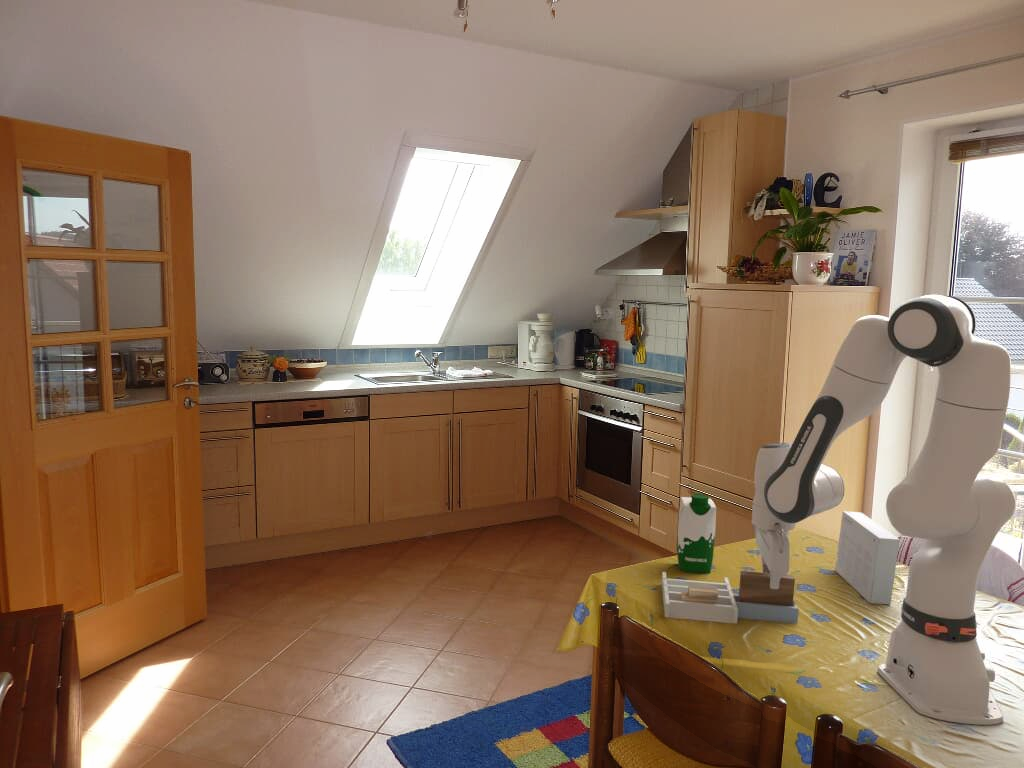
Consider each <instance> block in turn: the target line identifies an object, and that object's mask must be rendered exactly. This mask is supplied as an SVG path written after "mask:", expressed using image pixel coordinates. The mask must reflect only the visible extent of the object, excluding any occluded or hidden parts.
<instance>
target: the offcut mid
mask: <svg viewBox="0 0 1024 768" xmlns="http://www.w3.org/2000/svg"><path fill="white" fill-rule="evenodd" d="M681 601H686V602H697V603H708V604H715V600H704V599H693V598H689V595H688V593H687V592H681Z"/></svg>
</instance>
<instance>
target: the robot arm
mask: <svg viewBox="0 0 1024 768" xmlns="http://www.w3.org/2000/svg"><path fill="white" fill-rule="evenodd" d="M976 319H977V318H976V315H975V312H974V311H973V309H972V308H971V306H969V304H967V302H965V301H964V300H962V299H960V298H958V297H956V296H952V295H941V294H929V295H927V294H926V295H923V296H919V297H914V298H911V299H908V300H906V301H904V302H903V303H901V304H900V305H899V306H897V307H896V308H895V310H893V312H892V314H891V316H890V317H886V316H883V315H875V314H873V315H871V314H869V315H865V316H862V317H860V318H858V319H857V320H856V321H855V322H854V323H853V325H852V326H851V328H850V329H849V331H848V333H847V334H846V335H845V337H844V339H843V341H842V343H841V345H840V346H839V349H838V351H837V353H836V354H835V357H834V360H833V361H832V362H833V363H832V364H831V368H830V370H829V373H828V375H827V376H826V379H825V381H824V384H823V385H822V388H821V390H820V392H819V394H818V396H817V398H816V399H815V401H814V403H813V404H812V406H811V408H810V410H809V411H808V412H807V414H806V416H805V418H804V420H803V422H802V424H801V426H800V428H799V430H798V432H797V434H796V436H795V438H794V440H793V442H792V443H791V442H778V443H777V442H776V443H771V444H766V445H763V446H762V447H761V448H759V450H758V453H757V456H756V460H755V467H754V477H753V478H754V479H753V481H754V482H753V484H754V489H755V493H754V496H753V499H752V514H751V524H752V525H753V526H754V537H755V538H754V539H755V544H756V546H757V548H758V550H759V552H760V557H761V558H760V559H761V571H762V573H771V574H770V578H769V586H770V588H771V589H779V581H780V579H781V576H782V574H784V575H789V572H790V558H791V557H790V552H791V551H790V550H791V549H790V547H791V546H790V545H791V544H790V538H789V537H788V535H789V531H793V530H794V529H795V528H796V524H797V523H799V522H801V521H804V520H806V519H807V518H809V517H812V516H816V515H818V514H822V513H824V512H826V511H829V510H831V509H834V508H835V507H838V506H839V505H840V504H841V502H842V500H843V498H844V496H845V484H844V480H843V478H842V476H841V475H840V474H839V472H838V471H837V470H836V469H835V468H833V467H832V466H829V465H827V464H823V462H824V460H825V458H826V456H827V454H828V452H829V450H830V448H831V447H832V445H833V443H834V442H835V440H837V438H838V437H839V436H840V435H841V434H843V433H844V432H845V431H846V430H847V429H849V428H851V427H853V426H854V425H856V424H858V423H859V422H861V421H862V420H864V419H867V418H868V417H870V416H872V415H874V413H876V411H877V410H878V409H879V407H880V406H881V404H882V403H883V401H885V398H886V397H887V394H888V392H889V391H890V388H891V386H892V384H893V382H894V380H895V376H896V374H897V372H898V370H899V367H900V366H901V364H902V363H903V361H904V360H905V359H906V358H907V357H909V358H912V359H914V360H917V361H919V362H921V363H922V364H925V365H927V366H929V367H933V368H934V367H935V368H936V367H937V369H938V381H937V382H938V383H937V388H936V394H935V398H934V404H933V409H932V415H931V419H930V423H929V429H928V433H927V436H926V440H925V441H924V444H923V446H922V448H921V450H920V453H919V454H918V456H917V458H916V460H915V462H914V463H913V465H912V467H911V469H910V471H909V472H908V473H907V474H906V476H905V477H904V478H903V479H902V480H901V481H900V482H899V483H898V484H897V485H896V486H894V487H893V488H892V489H891V490H890V492H889V493H888V495H887V498H886V501H885V510H886V516H887V518H888V520H889V523H890V524H891V526H892V527H893V528H894V529H895V531H896V532H898V533H900V534H901V535H903V536H904V537H907V538H912V539H913V538H914V539H921V540H925V542H924V544H923V545H922V546H921V547H920V548H919V550H918V551H916V553H914V555H913V556H912V557H911V559H910V562H909V567H908V576H907V586H906V593H905V597H904V598H903V601H902V604H901V609H900V610H901V613H900V617H901V621H900V622H899V624H898V625H897V626H896V627H895V628H894V629H893V630H892V631H891V633H890V639H889V645H888V650H887V653H886V654H887V656H886V661H885V663H881V664H879V665H878V666H877V673H878V674H879V676H880V677H882V679H884V681H886V682H887V684H888V685H890V686H891V687H892V688H893V690H894V691H896V692H897V693H898V695H900V697H901V698H903V700H905V702H906V703H907V704H909V705H910V706H911V708H913V710H915V711H916V713H918V714H921V715H923V716H925V717H929V718H933V719H936V720H940V721H944V722H945V721H946V722H951V723H957V724H967V725H978V726H980V725H981V726H983V725H984V726H987V725H988V726H989V725H998V724H1001V723H1003V722H1004V716H1003V713H1002V711H1001V709H1000V707H999V704H998V703H997V700H996V698H995V696H994V694H993V692H992V690H991V688H990V685H991V684H990V683H993V682H995V681H996V680H995V679H996V672H995V669H994V668H991V667H986V665H985V662H984V661H985V659H986V654H985V653H986V652H984V651H981V649H980V646H979V643H978V640H977V638H976V637H977V627H978V626H977V625H978V624H977V619H976V618H977V617H976V613H975V605H976V604H975V602H976V595H977V589H978V584H979V583H978V581H979V577H980V573H981V570H982V567H983V564H984V561H985V559H986V556H987V555H988V552H989V550H990V548H991V546H992V544H993V542H994V540H995V539H996V537H997V534H998V533H999V532H1000V530H1001V529H1002V527H1004V526H1005V524H1006V523H1008V522H1009V521H1010V519H1011V518H1012V517H1013V516H1014V515H1013V514H1014V513H1015V511H1016V510H1015V509H1016V501H1015V496H1014V494H1013V491H1012V489H1011V488H1010V486H1009V485H1008V483H1006V482H1005V481H1004V480H1002V479H1000V478H999V477H997V476H994V475H991V474H984V473H980V472H981V470H983V468H984V466H985V465H986V464H987V463H988V462H989V461H990V460H991V459H992V458H993V457H994V456H995V455H996V454H997V452H998V450H999V449H1000V446H1001V445H1000V444H1001V440H1002V435H1003V429H1004V426H1005V419H1006V415H1007V411H1008V405H1009V401H1010V400H1009V399H1010V394H1011V393H1010V391H1011V381H1012V379H1011V378H1012V376H1011V374H1012V366H1011V365H1012V363H1011V361H1012V360H1011V356H1010V353H1009V351H1008V350H1007V349H1006V348H1005V347H1004V346H1002V345H1000V344H999V343H997V342H995V341H992V340H988V339H982V338H979V337H976V336H974V335H975V330H976V328H977V321H976Z"/></svg>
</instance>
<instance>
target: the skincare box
mask: <svg viewBox="0 0 1024 768" xmlns="http://www.w3.org/2000/svg"><path fill="white" fill-rule="evenodd" d="M841 515H842V516H841V521H840V522H841V523H840V531H839V536H838V538H839V539H838V543H837V544H838V545H837V552H836V558H835V559H836V560H835V567H834V571H835V572H837V574H839V576H841V578H843V579H844V581H845V582H847V583H848V584H849V585H850V586H851V587H852V588H853V589H854V590H855V591H857V593H858V594H860V595H861V596H862V597H863V599H865V600H866V601H867V602H868V603H869V604H876V605H891V604H892V596H893V589H894V581H895V574H896V569H897V568H896V567H897V561H898V560H897V559H898V554H899V553H898V552H899V546H900V538H899V537H897V536H895V535H894V534H893V533H891V532H890V531H889V530H887V529H885V528H884V526H881V524H878V523H877V522H876V521H875V520H873V519H871V517H869V516H867V515H866V514H864V513H863V512H859V511H845V510H842V514H841Z"/></svg>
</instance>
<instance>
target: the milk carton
mask: <svg viewBox="0 0 1024 768" xmlns="http://www.w3.org/2000/svg"><path fill="white" fill-rule="evenodd" d="M679 505H680V506H679V509H678V511H679V512H678V526H677V527H678V528H677V538H676V539H677V542H676V543H677V544H676V554H677V555H676V556H677V565H678V566H679V570H680V572H682V573H694V574H711V571H712V565H713V560H714V553H715V552H714V548H715V535H716V521H717V520H716V519H717V518H716V517H717V506H716V504H715V503H714V501H713V500H712V498H709V495H706V494H704V493H703V494H702V493H693V494H692V495H691V497H690V496H689V497H687V496H686V497H685V496H681V497H680V504H679Z"/></svg>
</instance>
